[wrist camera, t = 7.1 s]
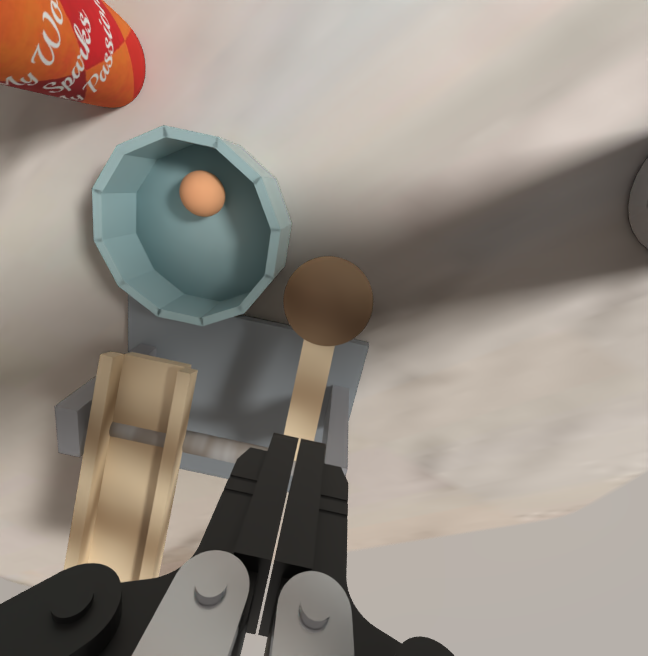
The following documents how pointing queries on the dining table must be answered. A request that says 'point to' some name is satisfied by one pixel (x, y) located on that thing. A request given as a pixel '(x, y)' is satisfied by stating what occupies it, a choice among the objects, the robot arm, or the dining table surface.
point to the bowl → (189, 226)
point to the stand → (231, 384)
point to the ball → (202, 193)
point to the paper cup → (70, 51)
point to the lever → (172, 419)
